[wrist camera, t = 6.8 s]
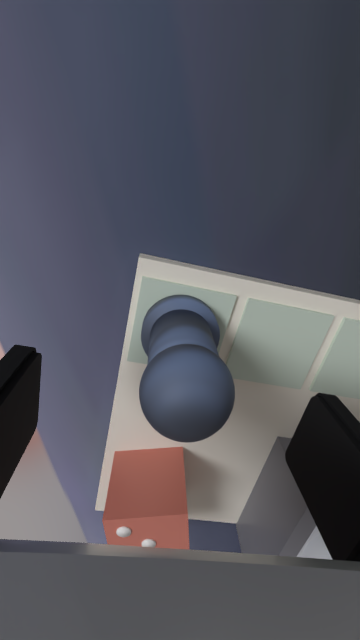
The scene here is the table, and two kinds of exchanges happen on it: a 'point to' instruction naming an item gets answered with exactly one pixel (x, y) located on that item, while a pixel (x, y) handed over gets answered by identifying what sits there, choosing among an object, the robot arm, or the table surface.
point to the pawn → (184, 370)
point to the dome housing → (275, 510)
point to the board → (239, 375)
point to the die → (147, 499)
